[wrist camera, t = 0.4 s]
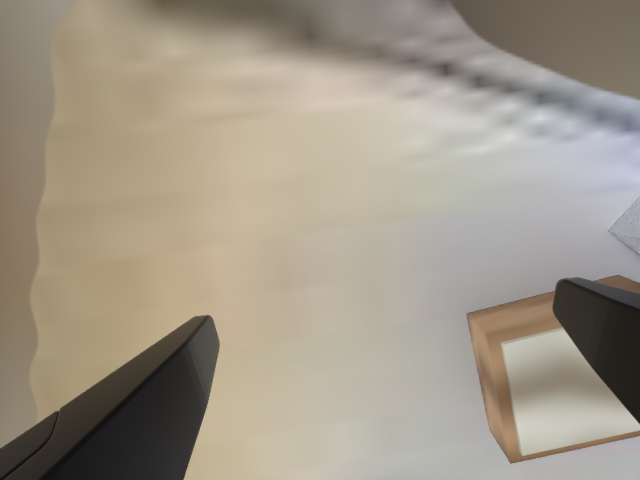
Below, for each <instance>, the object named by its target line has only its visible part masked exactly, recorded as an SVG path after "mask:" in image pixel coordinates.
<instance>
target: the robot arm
mask: <svg viewBox="0 0 640 480" xmlns="http://www.w3.org/2000/svg"><path fill="white" fill-rule="evenodd" d="M552 310H553V313H554V316H555V317H556V319H557V320H558V321H559V323H560V324H561V326H562V327H563V329H564V330H565V331H566V333H567V334H568V336H569V337H570V338H571V340H572V341H573V343H574V344H575V345H576V347H577V348H578V350H579V351H580V353H581V354H582V355H583V357H584V358H585V360H586V361H587V362H588V364H589V365H590V366H591V368H592V369H593V370H594V371H595V373H596V374H597V375H598V376H599V377H600V379H601V380H602V381H603V382H604V383H605V385H606V386H607V387H608V388H609V389H610V390H611V392H612V393H613V394H614V395H615V396H616V397H617V399H618V400H619V401H620V402H621V403H622V404H623V406H624V407H625V408H626V409H627V410H628V411H629V413H630V414H631V415H632V416H633V417H634V418H635V420H636V421H637V422H638V423H639V424H640V294H639V293H635V292H632V291H628V290H624V289H620V288H617V287H613V286H609V285H605V284H601V283H598V282H594V281H590V280H586V279H583V278H578V277H574V278H564V279H560V280H559V281H558V282H557V284H556V289H555V294H554V299H553V304H552ZM218 352H219V338H218V335H217V331H216V328H215V324H214V321H213V318H212V317H211V316H210V315H203V316H195V317H193V318H192V319H190V320H189V321H187V322H186V323H184V324H183V325H181V326H180V327H179V328H177V329H176V330H174V331H173V332H171V333H170V334H168V335H167V336H165V337H164V338H162V339H161V340H159V341H158V342H157V343H155V344H154V345H152V346H151V347H149V348H148V349H146V350H145V351H143V352H142V353H140V354H139V355H138V356H136V357H135V358H133V359H132V360H130V361H129V362H127V363H126V364H124V365H123V366H121V367H120V368H118V369H117V370H116V371H114V372H113V373H111V374H110V375H108V376H107V377H105V378H104V379H102V380H101V381H99V382H98V383H96V384H95V385H94V386H92V387H91V388H89V389H88V390H86V391H85V392H83V393H82V394H80V395H79V396H77V397H76V398H75V399H73V400H72V401H70V402H69V403H67V404H66V405H64V406H63V407H61V408H60V410H59V411H55V412H54V413H52V414H51V415H49V416H48V417H47V418H45V419H44V420H42V421H41V422H39V423H38V424H36V425H35V426H33V427H32V428H30V429H29V430H27V431H26V432H24V433H23V434H21V435H20V436H18V437H17V438H15V439H14V440H12V441H11V442H9V443H8V444H6V445H5V446H3V447H2V448H0V480H183V479H184V476H185V473H186V470H187V467H188V464H189V461H190V458H191V455H192V451H193V448H194V445H195V442H196V439H197V436H198V433H199V430H200V427H201V424H202V420H203V417H204V414H205V411H206V408H207V404H208V400H209V396H210V391H211V386H212V382H213V377H214V372H215V367H216V362H217V357H218Z"/></svg>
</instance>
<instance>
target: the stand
mask: <svg viewBox="0 0 640 480" xmlns="http://www.w3.org/2000/svg"><path fill="white" fill-rule="evenodd" d="M594 282H598V283H601V284H605V285H609V286H613V287H617V288H620V289H624V290H628V291H632V292H635V293H639V294H640V283H637V282H635V281H632V280H629V279H627V278H624V277H622V276H619V275H616V276H612V277H609V278H605V279H601V280H597V281H594ZM554 294H555V291H554V292H550V293H546V294H542V295H538V296H534V297H530V298H526V299H522V300H518V301H514V302H511V303H507V304H503V305H499V306H495V307H491V308H487V309H483V310H479V311H475V312H471V313H467V318H468V323H469V328H470V333H471V338H472V343H473V348H474V353H475V358H476V363H477V368H478V373H479V379H480V384H481V389H482V394H483V399H484V404H485V409H486V414H487V419H488V424H489V429H490V431H491V433H492V434H493V436H494V438H495V439H496V441H497V442H498V444H499V446H500V447H501V449H502V451H503V452H504V454H505V455H506V457H507V459H508V460H509V462H510V463H516V462H521V461H525V460H530V459H535V458H539V457H544V456H548V455H553V454H558V453H562V452H567V451H572V450H576V449H581V448H585V447H590V446H595V445H599V444H604V443H609V442H613V441H618V440H623V439H627V438H632V437H636V436H640V424H639V423H638V422H637V421H636V420H635V418H634V417H633V416H632V415H631V414H630V413H629V411H628V410H627V409H626V408H625V407H624V406H623V404H622V403H621V402H620V401H619V400H618V399H617V397H616V396H615V395H614V394H613V393H612V392H611V390H610V389H609V388H608V387H607V386H606V385H605V383H604V382H603V381H602V380H601V379H600V377H599V376H598V375H597V374H596V373H595V371H594V370H593V369H592V368H591V366H590V365H589V364H588V362H587V361H586V360H585V358H584V357H583V355H582V354H581V353H580V351H579V350H578V348H577V347H576V345H575V344H574V343H573V341H572V340H571V338H570V337H569V336H568V334H567V333H566V331H565V330H564V329H563V327H562V326H561V324H560V323H559V321H558V320H557V319H556V317H555V316H554V313H553V310H552V304H553V299H554Z"/></svg>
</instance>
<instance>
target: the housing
mask: <svg viewBox="0 0 640 480" xmlns="http://www.w3.org/2000/svg"><path fill="white" fill-rule="evenodd" d="M608 231H610V232H611V233H612V234H613V235H615V236H616V237H617V238H619V239H620V240H621V241H622V242H624V243H625V244H626V245H627V246H629V247H630V248H631V249H632V250H634V251H635V252H636V253H637V254H639V255H640V197H639V198H638V199H637V200H636V201H635V202H634V203H633V205H632V206H631V207H630V208H629V209H628V210H627V211H626V212H625V213H624V214H623V215H622V216H621V217H620V218H619V219H618V220H617V222H616V223H615V224H614V225H613V226H612V227H611V228H610V229H609V230H608Z"/></svg>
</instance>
